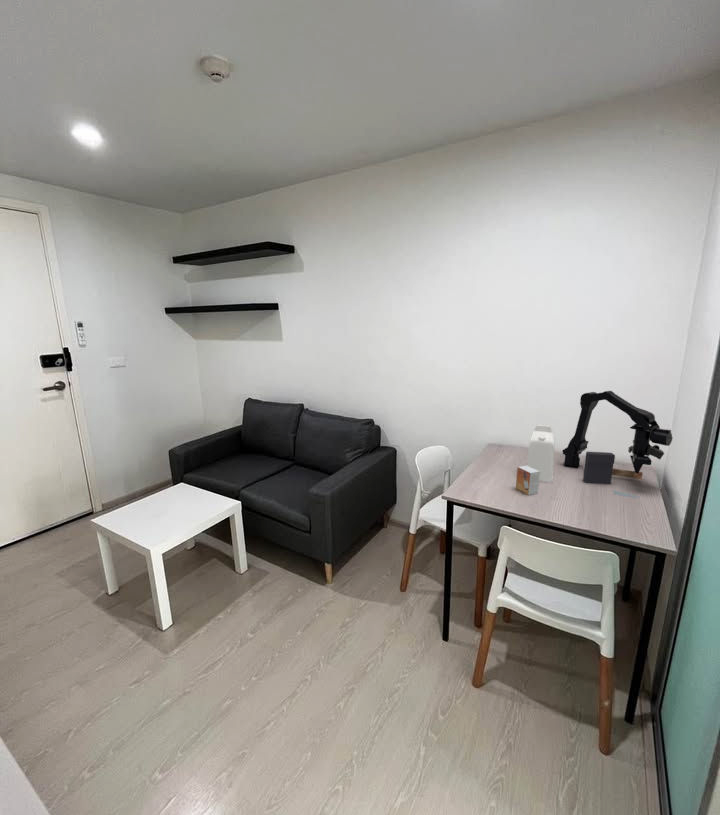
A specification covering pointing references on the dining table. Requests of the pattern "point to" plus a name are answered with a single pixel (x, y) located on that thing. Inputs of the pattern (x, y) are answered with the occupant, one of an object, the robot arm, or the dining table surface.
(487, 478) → the dining table surface
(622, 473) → the bar
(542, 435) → the milk
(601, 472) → the calculator
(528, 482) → the small box
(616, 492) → the mat
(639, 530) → the dining table surface
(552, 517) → the dining table surface
